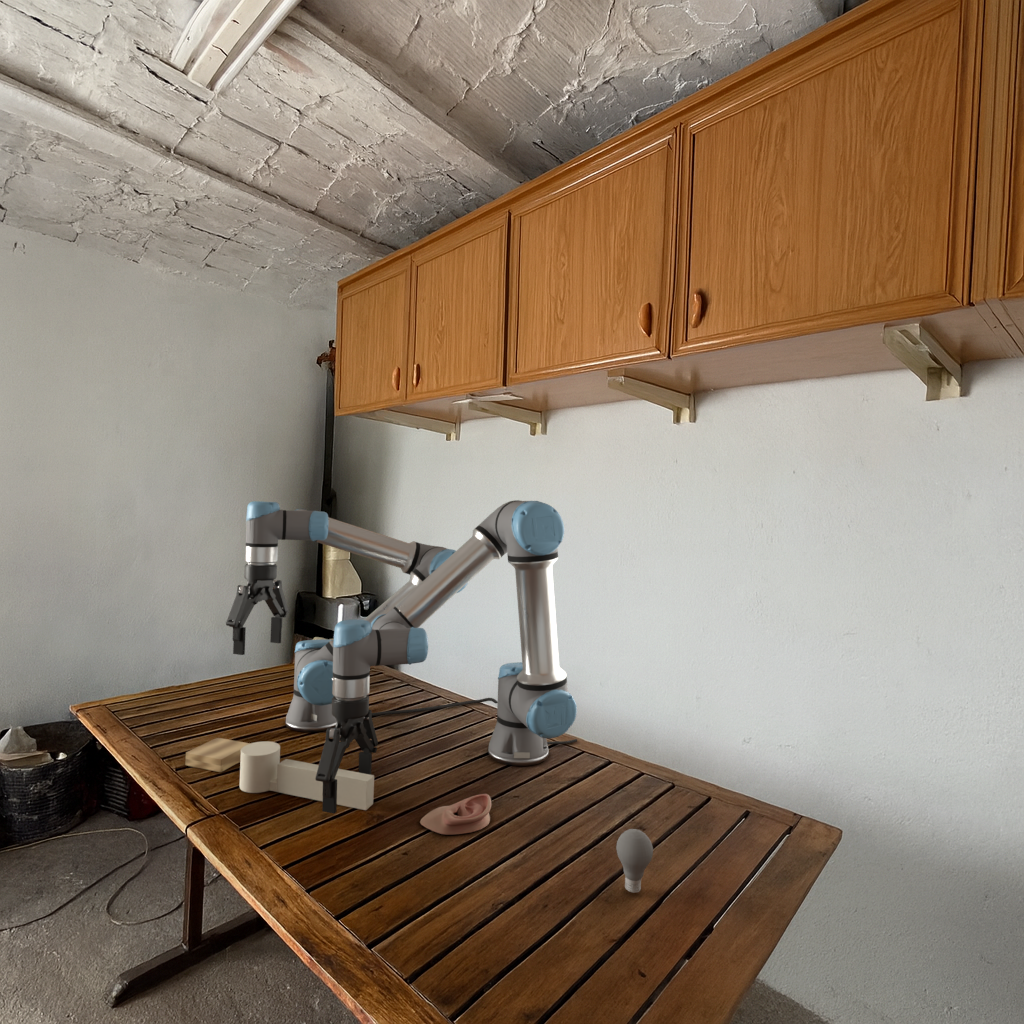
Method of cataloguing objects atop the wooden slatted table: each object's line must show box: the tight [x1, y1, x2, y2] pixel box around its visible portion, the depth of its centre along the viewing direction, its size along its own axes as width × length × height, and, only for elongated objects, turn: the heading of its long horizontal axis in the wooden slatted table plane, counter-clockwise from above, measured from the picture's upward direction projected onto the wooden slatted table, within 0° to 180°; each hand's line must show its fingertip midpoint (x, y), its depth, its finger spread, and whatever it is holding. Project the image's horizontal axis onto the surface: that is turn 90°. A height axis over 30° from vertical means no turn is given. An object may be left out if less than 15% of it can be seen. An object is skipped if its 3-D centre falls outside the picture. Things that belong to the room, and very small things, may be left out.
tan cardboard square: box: [184, 737, 251, 773], centre depth 149 cm, size 10×10×3 cm
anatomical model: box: [419, 793, 492, 836], centre depth 126 cm, size 13×4×12 cm
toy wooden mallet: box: [239, 741, 375, 811], centre depth 135 cm, size 31×8×8 cm, turn 73°
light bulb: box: [615, 828, 654, 894], centre depth 106 cm, size 6×6×10 cm
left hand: (258, 648), depth 158 cm, fingers open, 13 cm apart
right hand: (347, 796), depth 132 cm, fingers open, 13 cm apart
